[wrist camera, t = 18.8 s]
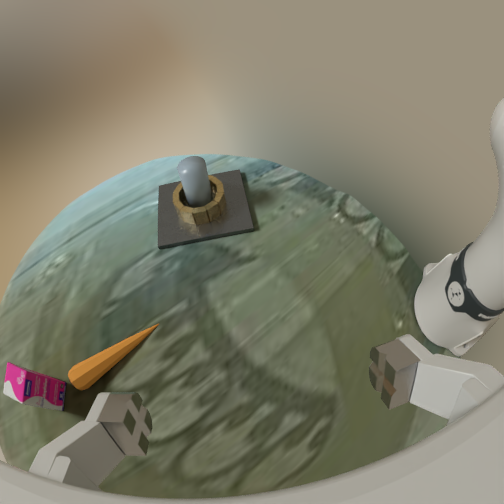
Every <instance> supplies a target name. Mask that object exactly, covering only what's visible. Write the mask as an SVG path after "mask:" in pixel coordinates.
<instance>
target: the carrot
mask: <svg viewBox="0 0 504 504" xmlns="http://www.w3.org/2000/svg"><path fill="white" fill-rule="evenodd" d="M158 325H159V324H157V325H155V326H153V327H151V328H148V329H146V330H144V331H142V332H140V333H138V334H135V335H133V336H131V337H129V338H127V339H125V340H123V341H121V342H119V343H117V344H116V345H114V346H112V347H110V348H108V349H106V350H104V351H102V352H100V353H98V354H96V355H94V356H92V357H90V358H88V359H86V360H84V361H82V362H80V363H79V364H77V365H75V366H73V367H72V368H71V370H70V371H69V373H68V376H69V380H70V383H71V384H72V385H73V386H74V387H76V389H78V390H85V389H88V388H89V387H90V386H91V385H93V384H94V383H95V382H96V381H97V380H98V379H99V378H101V377H102V376H103V375H104V374H105V373H106V372H107V371H109V370H110V369H111V368H112V367H113V366H114V365H115V364H117V363H118V362H119V361H120V360H121V359H122V358H123V357H125V356H126V355H127V354H128V353H129V352H130V351H131V350H133V349H134V348H135V347H136V346H137V345H138V344H139V343H140V342H141V341H142V340H143V339H144V338H145V337H147V336H148V335H149V334H150V333H151V332H152V331H153V330H154V329H155V328H156V327H157V326H158Z"/></svg>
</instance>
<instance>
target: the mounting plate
mask: <svg viewBox="0 0 504 504" xmlns="http://www.w3.org/2000/svg"><path fill="white" fill-rule="evenodd" d="M211 176H214V177H216V178H217V179H218V180H220V181H221V182H222V183H223V189H224V194H225V200H226V206H225V208H224V210H223V212H222V214H221V215H220V216H219V217H217V218H216V219H214V220H213V221H211V222H210V221H209V223H204V224H199V225H197V224H196V225H194V224H190V223H186V222H185V221H183V220H182V219H181V218H180V216H179V215H178V214H177V211H176V209H175V206H174V204H173V192H174V190H175V189H176V187H177V186H178V184H180V183H181V181H179V182H174V183H170V184H165V185H161V186H159V200H158V247H159V249H164V248H169V247H174V246H179V245H184V244H189V243H194V242H199V241H204V240H209V239H214V238H220V237H225V236H230V235H235V234H241V233H246V232H252V231H254V228H253V224H252V219H251V215H250V211H249V207H248V203H247V198H246V194H245V190H244V186H243V182H242V178H241V174H240V170H234V171H229V172H223V173H218V174H213V175H211ZM212 196H213V200H214V198H215V196H216V194H215V193H214V192H212ZM183 205H184V206H187V207H189V204H188V201H187V199H186V200H185V202H184V204H183Z"/></svg>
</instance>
